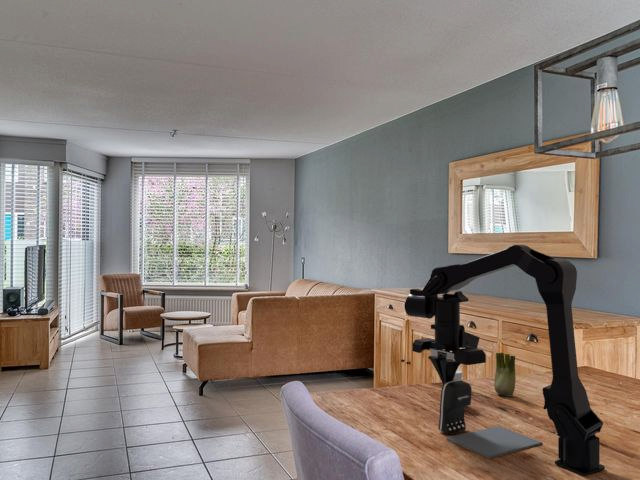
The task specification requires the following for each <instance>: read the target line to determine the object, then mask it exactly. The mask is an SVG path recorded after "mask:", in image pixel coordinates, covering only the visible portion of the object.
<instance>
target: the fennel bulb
mask: <svg viewBox="0 0 640 480" xmlns="http://www.w3.org/2000/svg"><path fill="white" fill-rule="evenodd" d="M495 361H496V363H495V365H496V367H495V374H494V379H493V380H494V381H493V382H494V383H493V384H494V385H493V386H494V391H495V392H496V394H498V395H500V396H504V397H505V396H506V397H511V396H513V395H514V392H515V388H516V378H517V377H516V355H513V354H511V355H510V354H509V353H504V352H496V353H495Z"/></svg>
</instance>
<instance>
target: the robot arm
mask: <svg viewBox="0 0 640 480" xmlns="http://www.w3.org/2000/svg"><path fill="white" fill-rule="evenodd" d="M515 266H516V267H518V268H519V269H520V270H521V271H522V272H523V273H525V274H527V275H528V276H530V277H532V278H534V279H535V284H536V287H537V291H538V293H539V295H540V297H541V299H542V300H543V303H544V304H545V308H546V309H545V310H546V321H547V330H548V339H549V341H548V343H549V349H550V360H551V361H550V362H551V372H552V373H551V374H552V380H551V384H549V385H546V386H544V387H542V395H543V399H544V405H543V409H544V410H546V413H547V416H548V418H549V420H550V421H552V422H553V424H554V427H555V431H556V433H557V436H558V437H557V438H558V441H557V443H558V444H557V448H558V451H557V452H558V453H557V456H558V459H557V460H554V464H555V465H557V466H560V467H562V468H564V469H567V470H569V471H572V472H574V473H577V474H579V475H581V476H588V475H591V474H594V473H597V472H600V471H602V470H605V465H603V464H602V463H600V460H601V459H600V456H601V455H600V451H601V449H600V445H601V444H600V437H599V436H597V434H598V433H601V430H602V428H603V426H604V422H603V420H602V419H601V418H600V416H598V415H597V413H596V412H595V411H594V410H593V409H592V408H591V404H590V401H589V396H588V393H587V391H586V388H585V386H584V385H583V382H582V381H581V379H580V377H579V370H578V360H577V348H576V340H575V330H574V320H573V309H572V305H573V299H574V296H575V293H576V290H577V282H578V281H577V279H578V278H577V277H578V270H577V267H576V266H575V264H573V263H572V262H571V261H569V260H567V259H562V258H559V259H556V257H555V258H554V257H553V256H550V255H547V254H545V253H542V252H540V251H538V250H536V249H533V248H531V247H530V246H528V245H526V244H512V245H510V246H509V247H507V248H504V249H501V250H498V251H495V252H493V253H489V254H487V255H484V256H481V257H479V258H478V257H477V258H476V259H473V260H470V261H467V262H465V263H458V264H452V265H451V264H450V265H444V266H443V265H442V266H436V267H434V268H433V269H432V270H431V273H430V278H429V279H428V281H427V282H426V284H425V285H424V287H423V289H420V288H410V289H409V294H408V295H407V296H406V299H405V302H404V304H403V305H404V311H405V314H407V316H408V317H415V318H421V319H433V318H434V324H430V330H431V329H432V330H434V338H431V337H428V338H419V339H418V338H417V339H414V341H413V342H412V347H411V348H412V352H414V353H417V354H421V353H422V352H424V351H426V350H427V351H430V356H429V355H428V356H427V357H428V358H427V359H428V360H430V362H431V364H432V365H433V367H434V369H435V371H436V373H437V375H438V377H439V379H440V381H441V383H442V385H443V384H444V383H445V382H448V381H452V380H453V379H454V376H455V373H456V371H457V370H458V369H459V367H460V365H464V366H472V365H478V364H479V365H480V364H485V363H487V357H486V356H487V354H486V352H485V351H484V350H483V349H480V348H478V347H479V343H480V336H478V335H474V334H472V333H469V332H467V331H466V330H465V329H466V327H465V325H464V324H461V310H460V309H461V306H460V305H461V303H466V302H469V298H468V297H467V296H466V295H465V294H464V293H463V291H460V289H462V288H464V287H466V286H468V285H469V284H470V283H472V281H474V280H477V279H478V278H481V277H484V276H487V275H490V274H493V273H496V272H500V271H502V270H506V269H509V268H511V267H515ZM458 290H459V291H458ZM452 291H455V292H454V293H450V292H452ZM438 295H441V296H440V297H439V296H438Z"/></svg>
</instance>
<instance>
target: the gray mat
mask: <svg viewBox="0 0 640 480" xmlns="http://www.w3.org/2000/svg"><path fill="white" fill-rule="evenodd" d="M446 441H449V442H450V443H452V444H453V443H454V444H455V445H458V446H460V447H461V448H464V449H467V450H469V451H471V452H473V453H474V454H475V453H476V454H478V455H480V456H483V457H485V458H487V459H492V458H496V457H499V456H502V455H506V454H510V453H514V452H517V451H521V450H522V451H523V450H526V449H529V448H532V447H535V446H540V445H543V441H540V440H538V439H535V438H532V437H529V436H526V435H524V434H521V433H519V432H516V431H513V430H511V429H507V428H505V427H503V426H499V425H496V426H491V427H486V428H484V429H479V430H475V431H471V432H466V433H463V434H457V435H453V436H448V437H446Z"/></svg>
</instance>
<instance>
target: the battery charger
mask: <svg viewBox="0 0 640 480" xmlns="http://www.w3.org/2000/svg"><path fill="white" fill-rule="evenodd" d="M440 392H441V393H440V402H439V419H438V420H439V421H438V430H439V431H440V432H442V433H444V434H446V435H447V434H448V435H452V434H457V433H461V432H464V431H465V430H466V429H467V426H466V421H465V413H466V411H465V410H466V407H468V406H471V404H472V385H471V384H470V383H468V382H467V381H464V379H462V380H452V381H448V382H445V383H444V384H443V383H442V387H441V391H440Z"/></svg>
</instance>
